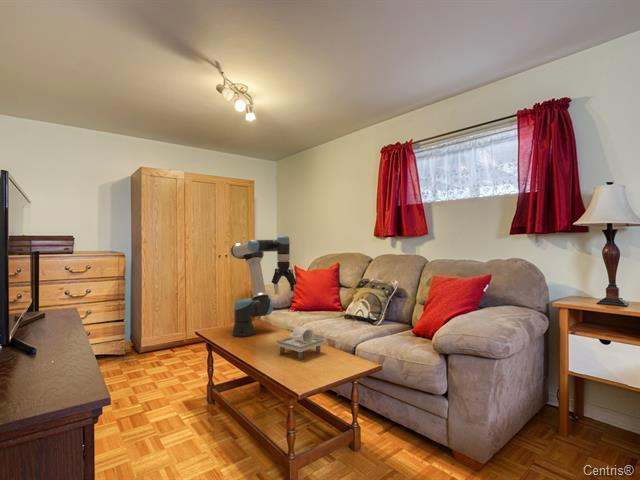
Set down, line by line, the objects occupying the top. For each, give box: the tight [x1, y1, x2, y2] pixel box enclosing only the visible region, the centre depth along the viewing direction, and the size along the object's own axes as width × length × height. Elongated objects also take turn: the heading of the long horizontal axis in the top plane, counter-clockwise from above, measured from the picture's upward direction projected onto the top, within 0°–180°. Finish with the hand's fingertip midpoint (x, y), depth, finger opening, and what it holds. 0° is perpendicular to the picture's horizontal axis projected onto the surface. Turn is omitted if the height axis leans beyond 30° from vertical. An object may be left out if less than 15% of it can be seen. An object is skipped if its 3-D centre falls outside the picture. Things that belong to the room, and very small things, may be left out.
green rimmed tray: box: [276, 336, 324, 361], centre depth 190 cm, size 18×18×7 cm
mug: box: [288, 325, 315, 344], centre depth 190 cm, size 12×10×8 cm
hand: (283, 295), depth 212 cm, fingers open, 13 cm apart
